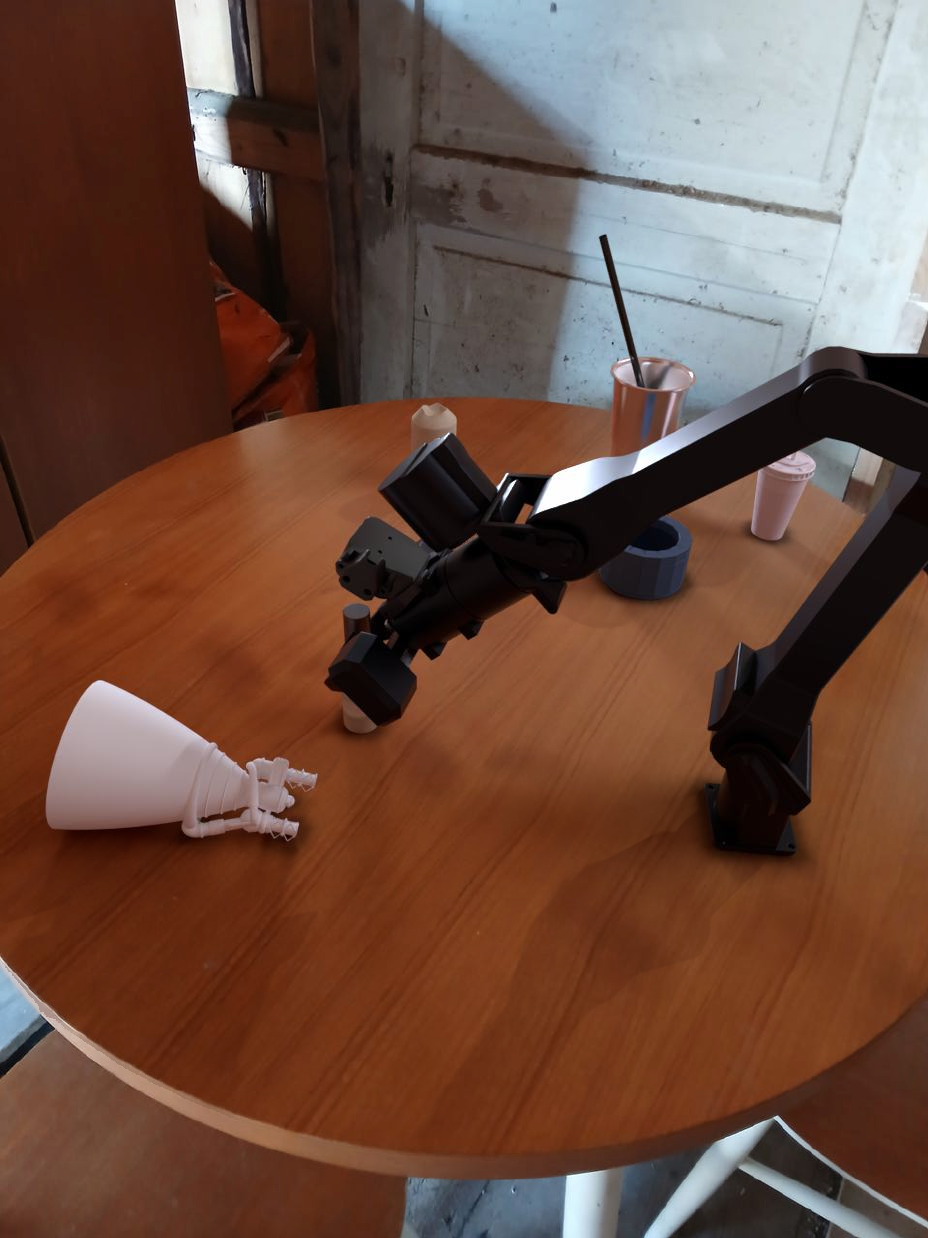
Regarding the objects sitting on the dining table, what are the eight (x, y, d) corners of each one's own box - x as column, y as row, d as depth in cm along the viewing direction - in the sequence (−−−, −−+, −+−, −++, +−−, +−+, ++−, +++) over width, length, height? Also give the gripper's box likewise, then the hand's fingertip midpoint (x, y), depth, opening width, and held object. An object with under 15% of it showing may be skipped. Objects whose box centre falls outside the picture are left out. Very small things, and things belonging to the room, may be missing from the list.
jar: (687, 603, 97) (697, 560, 93) (601, 596, 97) (607, 554, 94) (677, 555, 104) (686, 514, 101) (597, 549, 104) (603, 508, 101)
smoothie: (796, 550, 106) (830, 441, 97) (740, 542, 106) (769, 434, 98) (792, 521, 111) (824, 415, 102) (738, 514, 111) (766, 409, 103)
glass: (569, 474, 118) (597, 233, 100) (641, 459, 122) (681, 224, 103) (613, 514, 110) (653, 262, 92) (689, 497, 114) (741, 251, 96)
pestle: (376, 735, 80) (372, 624, 72) (340, 732, 80) (333, 621, 72) (382, 709, 82) (378, 600, 75) (347, 707, 82) (340, 597, 75)
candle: (405, 486, 114) (405, 413, 108) (419, 466, 118) (420, 395, 112) (447, 494, 113) (449, 420, 107) (460, 474, 117) (462, 402, 111)
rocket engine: (327, 731, 66) (81, 672, 65) (285, 890, 64) (29, 833, 62) (328, 737, 78) (119, 687, 76) (293, 873, 75) (76, 824, 74)
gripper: (442, 448, 73) (325, 537, 82) (348, 574, 59) (219, 663, 68) (529, 549, 76) (407, 623, 85) (459, 691, 62) (322, 762, 71)
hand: (344, 661), depth 77 cm, fingers open, 6 cm apart
